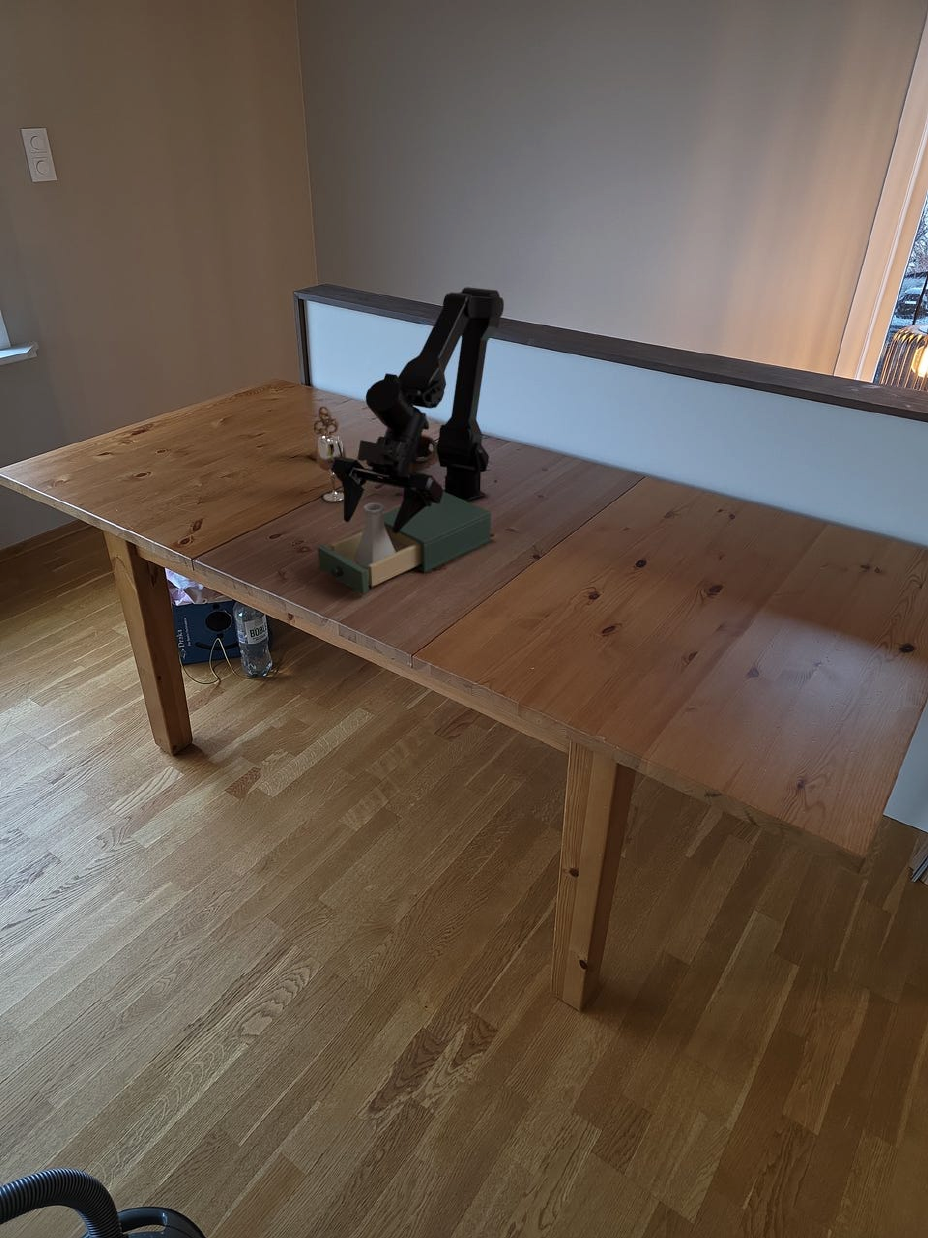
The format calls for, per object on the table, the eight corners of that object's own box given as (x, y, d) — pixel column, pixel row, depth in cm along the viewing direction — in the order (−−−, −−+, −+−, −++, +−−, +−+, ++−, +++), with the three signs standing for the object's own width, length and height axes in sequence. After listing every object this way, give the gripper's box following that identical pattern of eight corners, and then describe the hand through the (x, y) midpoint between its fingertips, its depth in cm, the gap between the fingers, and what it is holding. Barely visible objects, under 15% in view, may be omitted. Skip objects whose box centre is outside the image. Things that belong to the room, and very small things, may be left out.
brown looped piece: (309, 456, 179) (304, 404, 173) (323, 452, 182) (318, 399, 175) (334, 467, 174) (330, 413, 168) (348, 462, 176) (344, 409, 170)
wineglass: (343, 504, 159) (338, 446, 152) (316, 501, 160) (310, 443, 153) (352, 492, 164) (348, 435, 157) (325, 489, 165) (320, 433, 158)
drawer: (357, 597, 128) (355, 575, 126) (313, 571, 135) (311, 549, 133) (432, 562, 138) (432, 540, 136) (388, 539, 145) (387, 518, 143)
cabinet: (424, 572, 137) (424, 542, 133) (375, 546, 144) (374, 517, 141) (490, 541, 146) (491, 511, 143) (441, 518, 154) (441, 490, 151)
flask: (406, 561, 136) (404, 507, 130) (371, 574, 132) (367, 520, 127) (381, 545, 141) (378, 493, 135) (347, 558, 137) (342, 504, 131)
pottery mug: (448, 463, 178) (448, 439, 170) (427, 494, 174) (426, 471, 167) (402, 441, 180) (400, 417, 173) (380, 471, 177) (377, 447, 169)
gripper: (331, 408, 130) (298, 497, 127) (434, 427, 123) (400, 521, 121) (360, 439, 140) (330, 522, 138) (456, 458, 133) (426, 545, 131)
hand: (369, 527), depth 131 cm, fingers open, 9 cm apart
